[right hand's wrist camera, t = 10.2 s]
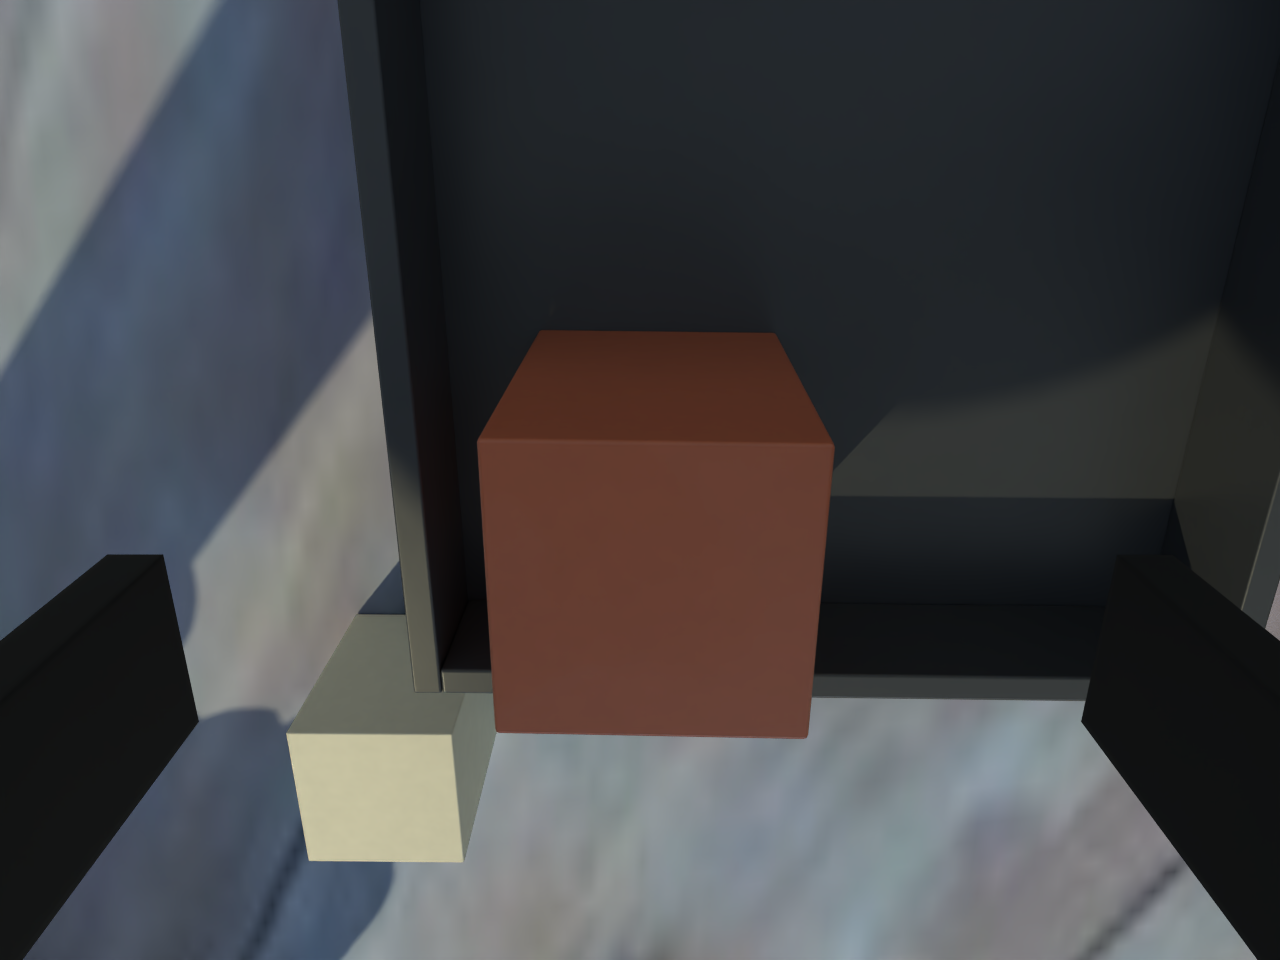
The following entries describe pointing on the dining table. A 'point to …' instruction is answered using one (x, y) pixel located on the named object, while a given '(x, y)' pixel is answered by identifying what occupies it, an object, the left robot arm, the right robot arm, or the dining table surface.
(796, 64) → the tray
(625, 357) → the terracotta block
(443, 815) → the cream block
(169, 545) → the dining table surface
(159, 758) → the right robot arm
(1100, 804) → the dining table surface
